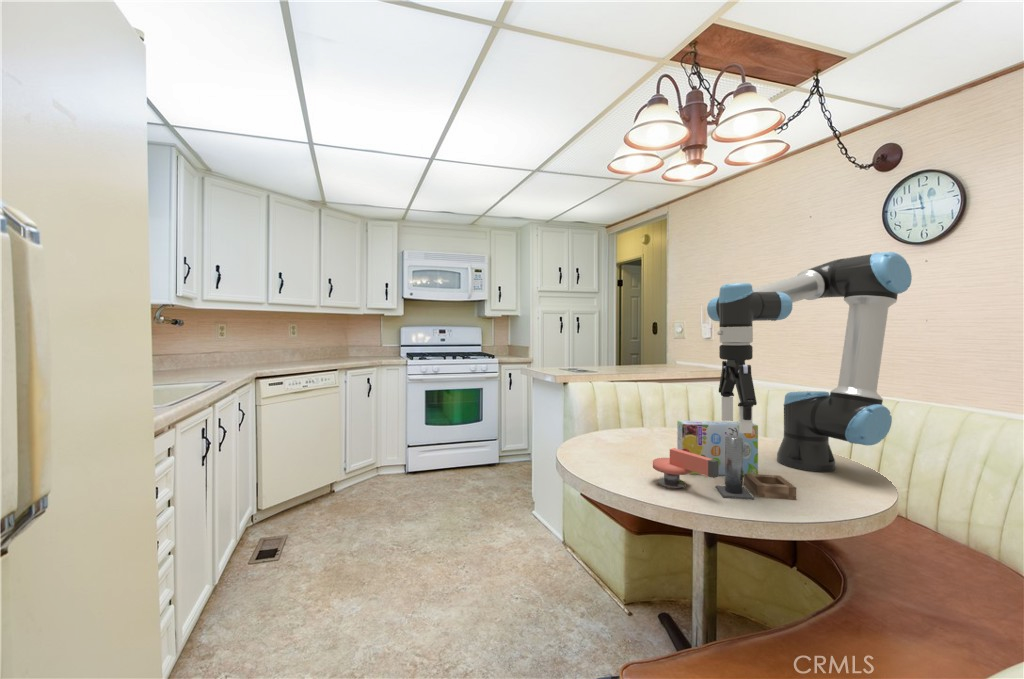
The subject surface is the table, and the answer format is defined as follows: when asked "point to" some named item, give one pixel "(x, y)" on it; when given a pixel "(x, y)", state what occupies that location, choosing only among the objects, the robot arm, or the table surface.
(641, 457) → the table surface
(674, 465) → the grey-tipped salmon bar
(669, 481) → the wheel post
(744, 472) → the snack box
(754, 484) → the block
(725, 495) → the pad
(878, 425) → the robot arm
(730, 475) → the silver metal cylinder
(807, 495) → the table surface
